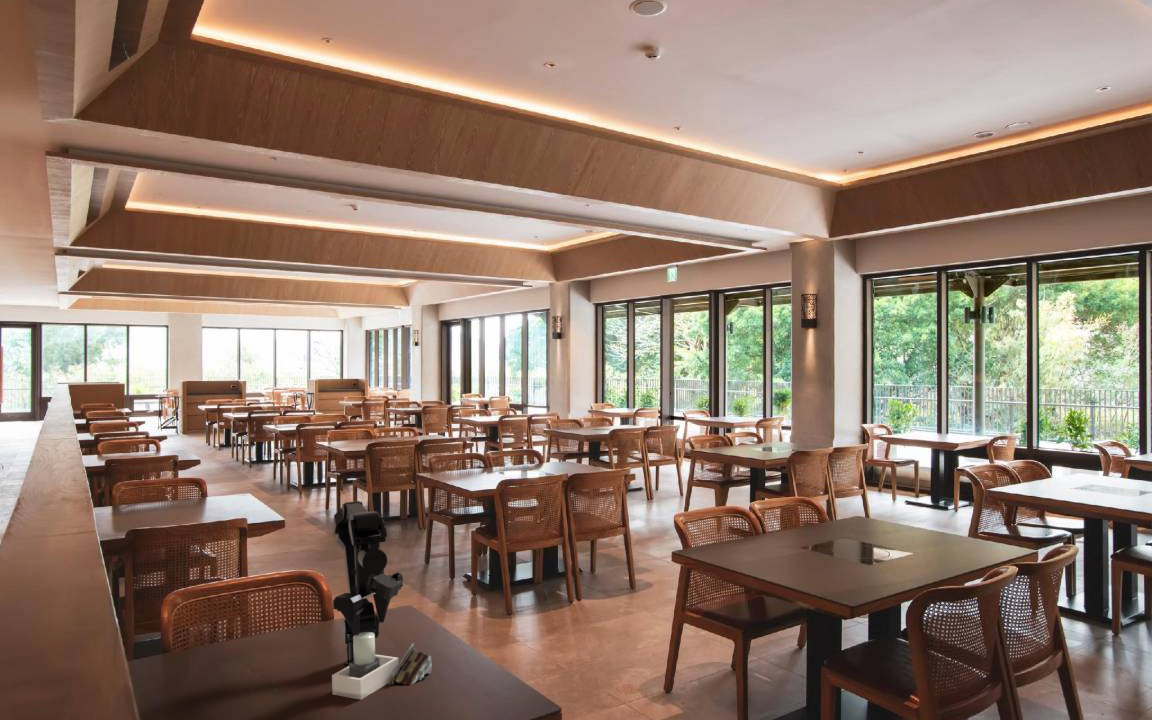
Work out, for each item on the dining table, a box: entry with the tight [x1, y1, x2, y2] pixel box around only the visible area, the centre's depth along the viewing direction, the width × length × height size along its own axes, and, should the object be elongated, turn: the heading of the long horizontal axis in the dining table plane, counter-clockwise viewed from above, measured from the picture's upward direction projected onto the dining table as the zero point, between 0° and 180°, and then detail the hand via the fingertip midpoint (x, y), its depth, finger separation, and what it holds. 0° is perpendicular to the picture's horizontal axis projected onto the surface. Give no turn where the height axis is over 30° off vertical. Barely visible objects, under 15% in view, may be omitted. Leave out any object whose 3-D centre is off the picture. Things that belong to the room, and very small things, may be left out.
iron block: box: [349, 658, 380, 678], centre depth 180 cm, size 5×5×5 cm
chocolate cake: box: [387, 641, 433, 687], centre depth 184 cm, size 10×7×12 cm
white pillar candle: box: [353, 632, 376, 665], centre depth 180 cm, size 5×5×6 cm
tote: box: [331, 653, 400, 700], centre depth 180 cm, size 8×14×4 cm, turn 156°
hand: (369, 628), depth 182 cm, fingers open, 9 cm apart
